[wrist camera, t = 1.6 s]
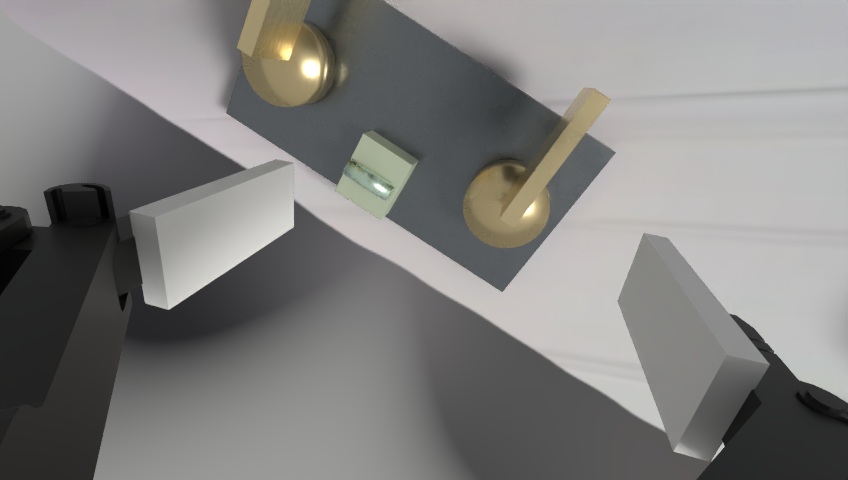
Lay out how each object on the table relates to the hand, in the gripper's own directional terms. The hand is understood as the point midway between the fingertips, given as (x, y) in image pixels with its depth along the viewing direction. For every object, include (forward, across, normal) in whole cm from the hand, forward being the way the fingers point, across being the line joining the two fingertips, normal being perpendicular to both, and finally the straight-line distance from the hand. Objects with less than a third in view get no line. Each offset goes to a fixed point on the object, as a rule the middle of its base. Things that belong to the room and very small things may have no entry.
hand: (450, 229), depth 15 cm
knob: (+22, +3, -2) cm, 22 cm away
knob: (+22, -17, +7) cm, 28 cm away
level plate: (+24, -8, -1) cm, 25 cm away
